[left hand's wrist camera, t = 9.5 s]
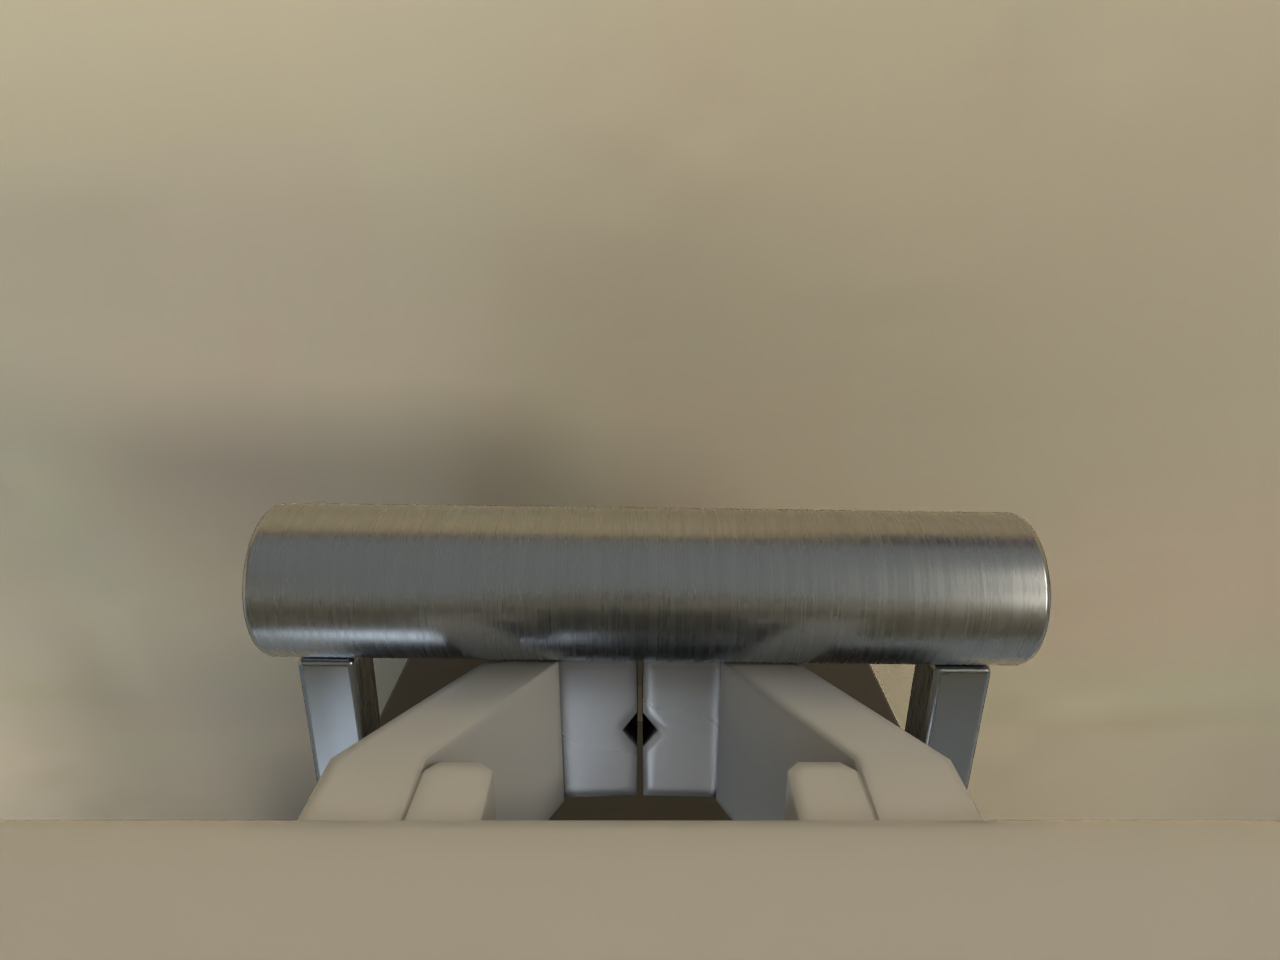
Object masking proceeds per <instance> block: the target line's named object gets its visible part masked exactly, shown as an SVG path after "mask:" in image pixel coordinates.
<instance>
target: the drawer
mask: <svg viewBox="0 0 1280 960" xmlns="http://www.w3.org/2000/svg"><path fill="white" fill-rule="evenodd" d="M242 598H243V610H244V617H245V621H246V626H247V629H248V632H249V634H250V636H251V639H252V641H253V642H254V644H255V645H256V647H257V648H258V649H259V650H261V651H262V652H263V653H265V654H268V655H270V656H273V657H301V658H300V661H299V670H300V676H301V682H302V689H303V695H304V701H305V708H306V714H307V720H308V726H309V733H310V739H311V745H312V751H313V758H314V764H315V770H316V777H317V783H318V781H319V779H320V777H321V775H322V774H323V772H324V770H325V768H326V766H327V764H328V763H329V761H330V759H331V758H333V757H334V756H336V755H337V754H339V753H341V752H342V751H344V750H345V749H347V748H348V747H350V746H352V745H353V744H355V743H356V742H358V741H360V740H361V739H363V738H364V737H366V736H367V735H369V734H371V733H372V732H374V731H375V730H377V729H379V728H380V727H382V726H383V725H385V724H386V723H388V722H390V721H391V720H393V719H394V718H396V717H398V716H399V715H401V714H402V713H404V712H405V711H407V710H409V709H410V708H412V707H413V706H415V705H416V704H418V703H420V702H421V701H423V700H424V699H426V698H428V697H429V696H431V695H432V694H434V693H435V692H437V691H439V690H440V689H442V688H443V687H445V686H447V685H448V684H450V683H451V682H453V681H454V680H456V679H458V678H459V677H461V676H462V675H464V674H466V673H467V672H469V671H470V670H472V669H473V668H475V667H477V666H478V665H480V664H481V663H483V662H485V661H486V660H498V659H515V660H600V661H638V722H637V795H622V796H586V797H564V802H563V803H562V804H561V805H560V807H559V808H558V809H557V810H556V811H555V813H554V814H553V815H552V816H551V817H550V819H549V820H732V819H731V818H730V817H729V816H728V814H727V813H726V812H725V811H724V810H723V808H722V807H721V806H720V805H719V804H718V802H717V801H716V797H693V796H656V795H643V720H642V661H684V662H769V663H799V664H800V665H802V666H803V667H805V668H807V669H808V670H810V671H811V672H813V673H814V674H816V675H818V676H819V677H821V678H822V679H824V680H825V681H827V682H829V683H830V684H832V685H833V686H835V687H836V688H838V689H840V690H841V691H843V692H844V693H846V694H847V695H849V696H851V697H852V698H854V699H855V700H857V701H858V702H860V703H862V704H863V705H865V706H866V707H868V708H870V709H871V710H873V711H874V712H876V713H877V714H879V715H881V716H882V717H884V718H885V719H887V720H888V721H890V722H892V723H893V724H895V725H896V726H898V727H899V725H898V722H897V720H896V718H895V716H894V714H893V712H892V710H891V708H890V706H889V704H888V702H887V700H886V698H885V695H884V693H883V691H882V689H881V687H880V685H879V683H878V681H877V679H876V677H875V675H874V673H873V670H872V668H871V666H870V664H915V671H914V677H913V683H912V689H911V696H910V702H909V708H908V714H907V721H906V727H905V731H906V732H907V733H909V734H910V735H912V736H914V737H915V738H917V739H918V740H920V741H921V742H923V743H925V744H926V745H928V746H929V747H931V748H933V749H934V750H936V751H937V752H939V753H940V754H942V755H944V756H945V757H947V758H948V759H950V760H951V762H952V764H953V765H954V767H955V769H956V771H957V773H958V775H959V776H960V778H961V780H962V782H963V784H964V786H965V788H966V789H967V788H968V783H969V778H970V773H971V768H972V763H973V758H974V753H975V748H976V743H977V738H978V733H979V728H980V723H981V718H982V713H983V708H984V703H985V698H986V693H987V687H988V682H989V677H990V668H989V666H988V665H1019V664H1022V663H1025V662H1027V661H1028V660H1030V659H1031V658H1032V657H1033V656H1034V655H1035V654H1036V653H1037V651H1038V650H1039V648H1040V646H1041V645H1042V642H1043V640H1044V637H1045V634H1046V631H1047V627H1048V622H1049V616H1050V603H1051V591H1050V578H1049V571H1048V566H1047V561H1046V558H1045V554H1044V551H1043V548H1042V545H1041V543H1040V541H1039V538H1038V537H1037V535H1036V533H1035V531H1034V530H1033V528H1032V527H1031V526H1030V525H1029V524H1028V523H1027V522H1026V521H1025V520H1024V519H1023V518H1021V517H1019V516H1017V515H1014V514H1012V513H1007V512H933V511H857V510H780V509H704V508H628V507H551V506H475V505H398V504H322V503H283V504H280V505H277V506H275V507H273V508H271V509H270V510H268V511H267V512H266V513H265V514H264V515H263V517H262V518H261V520H260V521H259V523H258V525H257V526H256V528H255V530H254V533H253V535H252V538H251V540H250V543H249V547H248V550H247V554H246V559H245V565H244V572H243V585H242ZM373 658H408V660H407V663H406V665H405V667H404V669H403V671H402V673H401V675H400V677H399V679H398V681H397V683H396V685H395V687H394V689H393V691H392V693H391V695H390V697H389V700H388V702H387V704H386V706H385V708H384V710H383V712H382V714H381V716H380V715H379V707H378V699H377V690H376V682H375V674H374V665H373ZM899 728H900V727H899Z"/></svg>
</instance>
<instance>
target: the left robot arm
mask: <svg viewBox="0 0 1280 960" xmlns="http://www.w3.org/2000/svg"><path fill="white" fill-rule="evenodd" d="M642 720H643V795H656V796H693V797H716V801H717V802H718V804H719V805H720V806H721V807H722V808H723V810H724V811H725V812H726V813H727V814H728V816H729V817H730V818H731V819H732V820H549V819H550V817H551V816H552V815H553V814H554V813H555V811H556V810H557V809H558V808H559V807H560V805H561V804H562V803H563V802H564V797H586V796H622V795H637V722H638V661H600V660H515V659H498V660H486V661H485V662H483V663H481V664H480V665H478V666H477V667H475V668H473V669H472V670H470V671H469V672H467V673H466V674H464V675H462V676H461V677H459V678H458V679H456V680H454V681H453V682H451V683H450V684H448V685H447V686H445V687H443V688H442V689H440V690H439V691H437V692H435V693H434V694H432V695H431V696H429V697H428V698H426V699H424V700H423V701H421V702H420V703H418V704H416V705H415V706H413V707H412V708H410V709H409V710H407V711H405V712H404V713H402V714H401V715H399V716H398V717H396V718H394V719H393V720H391V721H390V722H388V723H386V724H385V725H383V726H382V727H380V728H379V729H377V730H375V731H374V732H372V733H371V734H369V735H367V736H366V737H364V738H363V739H361V740H360V741H358V742H356V743H355V744H353V745H352V746H350V747H348V748H347V749H345V750H344V751H342V752H341V753H339V754H337V755H336V756H334V757H333V758H331V759H330V761H329V763H328V764H327V766H326V768H325V770H324V772H323V774H322V775H321V777H320V779H319V781H318V783H317V784H316V786H315V788H314V790H313V792H312V794H311V795H310V797H309V799H308V801H307V803H306V804H305V806H304V808H303V810H302V812H301V814H300V815H299V817H298V819H297V820H0V960H1280V821H986V820H983V819H982V817H981V815H980V813H979V812H978V810H977V808H976V806H975V804H974V802H973V800H972V799H971V797H970V795H969V793H968V791H967V789H966V788H965V786H964V784H963V782H962V780H961V778H960V776H959V775H958V773H957V771H956V769H955V767H954V765H953V764H952V762H951V760H950V759H948V758H947V757H945V756H944V755H942V754H940V753H939V752H937V751H936V750H934V749H933V748H931V747H929V746H928V745H926V744H925V743H923V742H921V741H920V740H918V739H917V738H915V737H914V736H912V735H910V734H909V733H907V732H906V731H904V730H903V729H901V728H899V727H898V726H896V725H895V724H893V723H892V722H890V721H888V720H887V719H885V718H884V717H882V716H881V715H879V714H877V713H876V712H874V711H873V710H871V709H870V708H868V707H866V706H865V705H863V704H862V703H860V702H858V701H857V700H855V699H854V698H852V697H851V696H849V695H847V694H846V693H844V692H843V691H841V690H840V689H838V688H836V687H835V686H833V685H832V684H830V683H829V682H827V681H825V680H824V679H822V678H821V677H819V676H818V675H816V674H814V673H813V672H811V671H810V670H808V669H807V668H805V667H803V666H802V665H800V664H799V663H769V662H684V661H642Z"/></svg>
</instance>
